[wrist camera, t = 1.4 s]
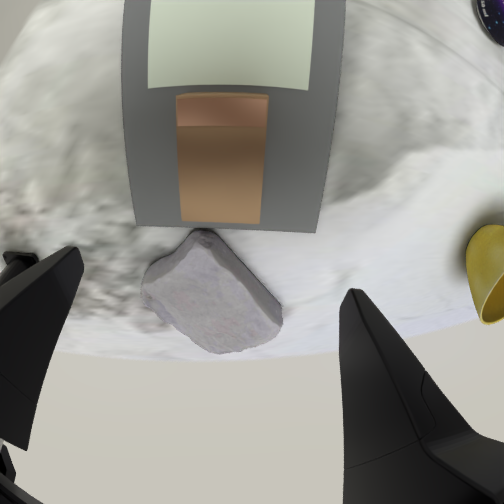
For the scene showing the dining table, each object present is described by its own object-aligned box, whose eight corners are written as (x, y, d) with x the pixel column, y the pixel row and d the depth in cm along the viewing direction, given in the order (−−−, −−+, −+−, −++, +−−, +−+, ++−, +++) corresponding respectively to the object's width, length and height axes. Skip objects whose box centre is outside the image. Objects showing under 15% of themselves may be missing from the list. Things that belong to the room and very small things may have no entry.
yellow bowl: (496, 268, 24) (525, 308, 18) (440, 288, 26) (467, 337, 20) (516, 198, 18) (556, 235, 12) (456, 210, 20) (501, 258, 14)
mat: (138, 223, 21) (135, 227, 20) (127, -4, 10) (124, -6, 10) (314, 230, 21) (315, 234, 21) (343, -4, 11) (346, -6, 10)
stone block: (218, 325, 31) (293, 305, 26) (206, 361, 28) (287, 348, 23) (142, 256, 26) (214, 213, 21) (119, 292, 22) (192, 254, 17)
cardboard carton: (258, 206, 20) (259, 224, 18) (189, 203, 19) (181, 221, 17) (266, 93, 15) (269, 96, 13) (186, 92, 15) (175, 95, 13)
